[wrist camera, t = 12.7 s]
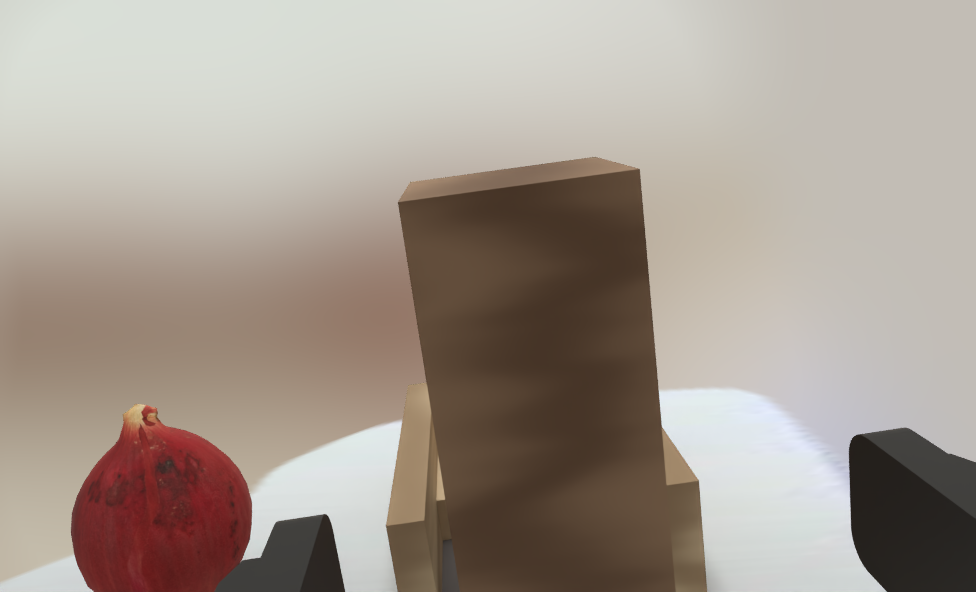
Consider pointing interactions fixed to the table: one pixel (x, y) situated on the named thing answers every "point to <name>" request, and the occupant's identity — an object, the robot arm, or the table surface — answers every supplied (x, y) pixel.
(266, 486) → the table surface
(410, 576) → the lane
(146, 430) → the onion
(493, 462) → the post
